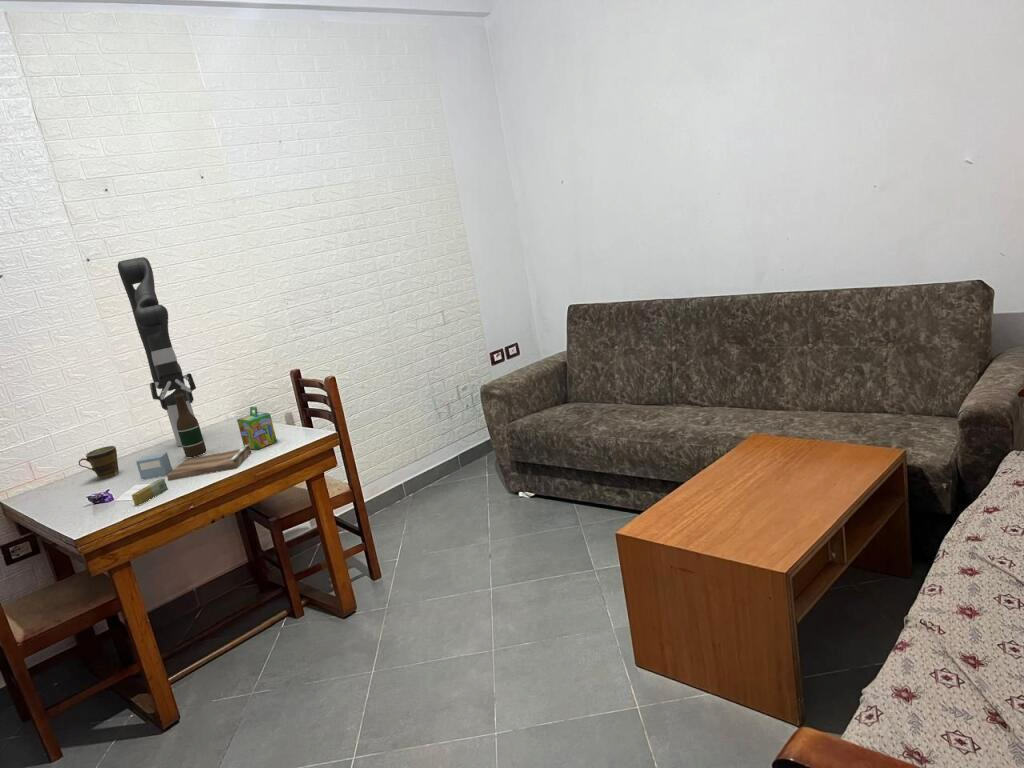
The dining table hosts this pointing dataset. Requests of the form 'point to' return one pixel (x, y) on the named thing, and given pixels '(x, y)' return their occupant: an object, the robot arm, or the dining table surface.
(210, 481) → the dining table surface
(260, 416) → the colorful gift box
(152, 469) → the tea carton
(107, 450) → the ceramic cup
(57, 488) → the dining table surface
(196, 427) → the beer bottle
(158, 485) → the medication box
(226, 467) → the wooden tray
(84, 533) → the dining table surface
